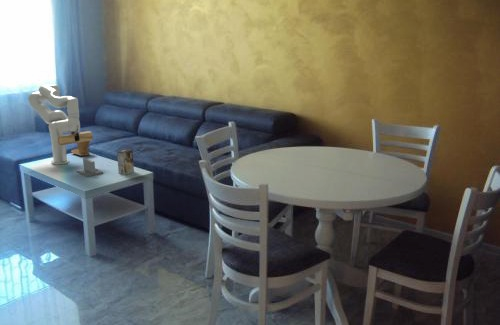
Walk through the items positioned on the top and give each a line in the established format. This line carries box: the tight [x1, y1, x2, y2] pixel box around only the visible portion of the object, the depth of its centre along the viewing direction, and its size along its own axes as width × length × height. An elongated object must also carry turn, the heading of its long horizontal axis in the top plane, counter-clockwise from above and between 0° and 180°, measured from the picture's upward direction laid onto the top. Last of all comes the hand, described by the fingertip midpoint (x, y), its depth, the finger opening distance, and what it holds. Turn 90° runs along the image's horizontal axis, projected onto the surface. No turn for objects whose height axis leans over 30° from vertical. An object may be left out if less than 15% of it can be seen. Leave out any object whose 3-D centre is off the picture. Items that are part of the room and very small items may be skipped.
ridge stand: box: [75, 157, 104, 178], centre depth 335 cm, size 16×12×10 cm
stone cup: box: [70, 140, 91, 157], centre depth 381 cm, size 15×12×15 cm
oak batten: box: [57, 130, 93, 146], centre depth 341 cm, size 4×24×6 cm, turn 136°
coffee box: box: [116, 148, 135, 176], centre depth 336 cm, size 9×6×16 cm
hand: (75, 139), depth 342 cm, fingers closed on oak batten, 4 cm apart
